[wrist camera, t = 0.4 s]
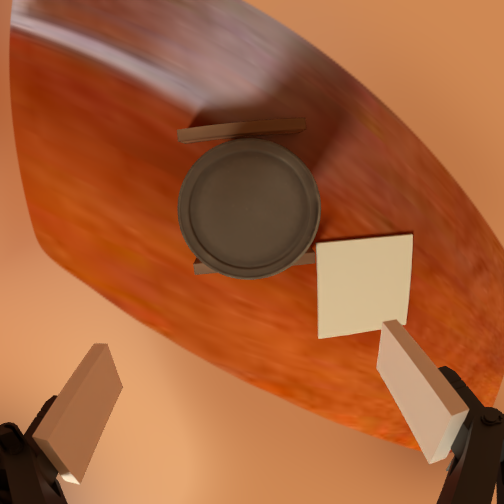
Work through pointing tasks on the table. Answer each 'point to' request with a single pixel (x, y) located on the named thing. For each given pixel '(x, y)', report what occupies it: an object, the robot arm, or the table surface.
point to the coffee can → (249, 208)
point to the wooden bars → (241, 131)
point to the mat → (362, 283)
